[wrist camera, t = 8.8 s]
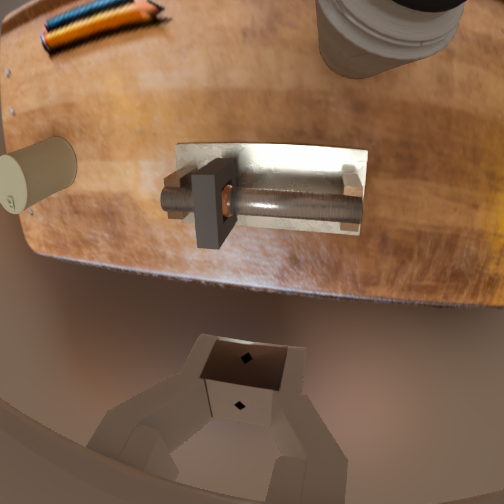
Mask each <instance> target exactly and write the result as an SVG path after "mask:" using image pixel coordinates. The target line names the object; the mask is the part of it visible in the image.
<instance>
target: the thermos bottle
mask: <svg viewBox="0 0 504 504" xmlns="http://www.w3.org/2000/svg"><path fill="white" fill-rule="evenodd" d="M315 1H316V12H317V25H318V33H319V49H320V54H321V56H322V58H323V60H324V62H325V63H326V65H327V66H328V67H329V68H330V69H331V70H333V71H334V72H335V73H337V74H339V75H341V76H343V77H347V78H351V79H363V78H367V77H370V76H373V75H376V74H378V73H381V72H384V71H387V70H390V69H393V68H396V67H399V66H402V65H405V64H408V63H411V62H414V61H417V60H420V59H424V58H427V57H429V56H431V55H433V54H436V53H438V52H439V51H440V50H442V49H443V48H444V47H446V46H447V45H448V43H449V42H450V41H451V40H452V38H453V37H454V35H455V33H456V30H457V28H458V25H459V21H460V18H461V16H462V13H463V9H464V2H465V1H466V0H315Z"/></svg>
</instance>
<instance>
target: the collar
mask: <svg viewBox="0 0 504 504" xmlns="http://www.w3.org/2000/svg"><path fill="white" fill-rule="evenodd" d="M191 181H192V194H193V206H194V217H195V228H196V238H197V248H206V249H218V250H219V249H220V247H221V245H222V244H223V242H224V241H225V239H226V238H227V236H228V235H229V233H230V231H231V230H232V228H233V227H234V225H235V224H236V222H237V221H238V219H237V215H232V216H231V217H225V216H223V211H222V192H221V189H222V188H223V187H224V186H225V185H232V186H233V187H234V188H236V158H215V159H214V160H212V161H211V162H209V163H208V164H206V165H205V166H203V167H202V168H200V169H199V170H197V171H196V172H194V173H193V174H191Z"/></svg>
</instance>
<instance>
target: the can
mask: <svg viewBox="0 0 504 504" xmlns="http://www.w3.org/2000/svg"><path fill="white" fill-rule="evenodd" d="M76 172H77V161H76V156H75V153H74V151H73V149H72V147H71V145H70V144H69V143H68V142H67V141H66V140H65V139H63V138H61V137H52V138H50V139H48V140H45V141H43V142H40V143H37V144H34V145H31V146H28V147H25V148H22V149H20V150H17V151H14V152H11V153H8V154H5V155H2V156H0V203H1V204H2V206H3V207H4V208H5V209H6V210H7V211H8V212H10V213H12V214H19V213H21V212H22V211H24V210H25V209H27V208H28V207H30V206H32V205H34V204H35V203H37V202H39V201H41V200H42V199H44V198H46V197H48V196H50V195H52V194H54V193H56V192H58V191H60V190H62V189H65V188H67V187H69V186H70V185H71V184H72V183H73V181H74V179H75V176H76Z"/></svg>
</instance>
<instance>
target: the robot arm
mask: <svg viewBox="0 0 504 504" xmlns="http://www.w3.org/2000/svg"><path fill="white" fill-rule="evenodd" d="M306 355H307V348H303V347H294V346H289V347H288V346H284V345H274V344H266V343H257V342H248V341H242V340H236V339H230V338H225V337H216V336H212V335H206V334H201V335H200V336H199V337H198V339H197V341H196V343H195V345H194V347H193V349H192V351H191V352H190V354H189V356H188V358H187V360H186V362H185V364H184V366H183V368H182V370H181V372H180V374H176V373H174V374H172V375H171V376H169V377H167V378H165V379H164V380H162V381H160V382H159V383H157V384H155V385H153V386H152V387H150V388H148V389H146V390H145V391H143V392H141V393H139V394H137V395H136V396H134V397H132V398H130V399H128V400H127V401H125V402H123V403H121V404H119V405H117V406H115V407H114V408H112V409H110V410H108V411H107V413H106V414H105V416H104V418H103V419H102V421H101V423H100V424H99V426H98V427H97V429H96V430H95V432H94V434H93V436H92V437H91V439H90V440H89V442H88V444H87V445H86V447H85V446H83V445H81V444H78V443H77V442H74V441H72V440H71V439H69V438H67V437H65V436H63V435H61V434H59V433H57V432H55V431H54V430H52V429H50V428H48V427H46V426H44V425H43V424H41V423H39V422H38V421H36V420H34V419H33V418H31V417H29V416H28V415H26V414H25V413H23V412H21V411H20V410H18V409H17V408H15V407H13V406H12V405H10V404H9V403H7V402H6V401H5V400H3V399H2V398H0V504H345V493H346V480H347V467H348V459H347V458H346V456H345V455H344V453H343V452H342V450H341V449H340V447H339V445H338V444H337V442H336V441H335V439H334V438H333V436H332V434H331V433H330V431H329V430H328V428H327V426H326V425H325V423H324V422H323V420H322V419H321V417H320V415H319V414H318V412H317V411H316V409H315V407H314V406H313V404H312V402H311V401H310V399H309V398H308V396H307V395H304V394H301V392H302V385H303V378H304V370H305V362H306ZM212 418H215V419H220V420H226V421H232V422H238V423H244V424H249V425H254V426H260V427H265V428H271V432H272V434H273V436H274V439H275V441H276V443H277V445H278V448H279V450H280V453H281V455H282V456H280V457H279V458H277V459H276V460H275V463H274V468H273V472H272V476H271V481H270V484H269V488H268V492H267V496H266V500H265V502H264V501H258V500H252V499H246V498H240V497H235V496H231V495H226V494H221V493H217V492H213V491H208V490H204V489H200V488H196V487H193V486H189V485H186V484H182V483H179V482H176V479H177V477H178V474H179V471H178V469H177V467H176V465H175V463H174V461H173V459H172V458H171V455H170V453H171V452H173V451H174V450H175V449H177V448H178V447H179V446H180V445H182V444H183V443H184V442H185V441H187V440H188V439H189V438H190V437H192V436H193V435H194V434H195V433H197V432H198V431H199V430H200V429H202V428H203V427H204V426H205V425H206V424H208V423H209V422H210V421H211V420H212ZM434 504H504V489H503V490H499V491H495V492H491V493H487V494H483V495H478V496H474V497H469V498H464V499H459V500H453V501H448V502H441V503H434Z"/></svg>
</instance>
